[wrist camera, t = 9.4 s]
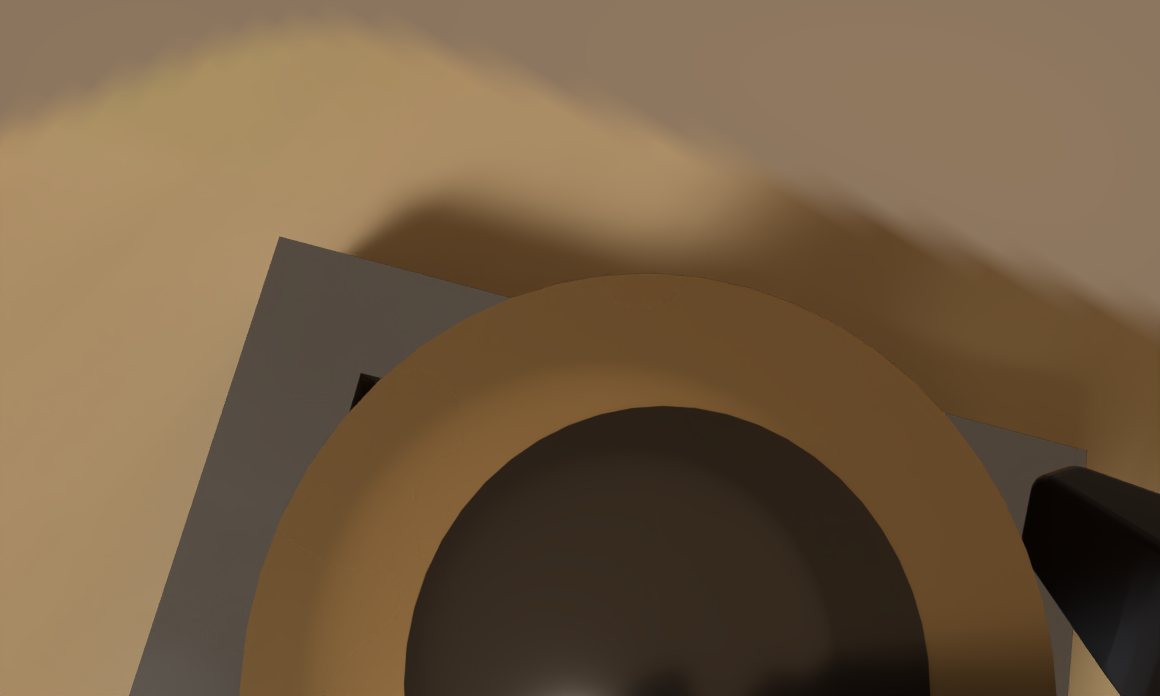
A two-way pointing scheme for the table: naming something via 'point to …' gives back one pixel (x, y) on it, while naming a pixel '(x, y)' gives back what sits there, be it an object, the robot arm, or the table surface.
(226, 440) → the frame
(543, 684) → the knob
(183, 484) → the table surface
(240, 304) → the table surface
